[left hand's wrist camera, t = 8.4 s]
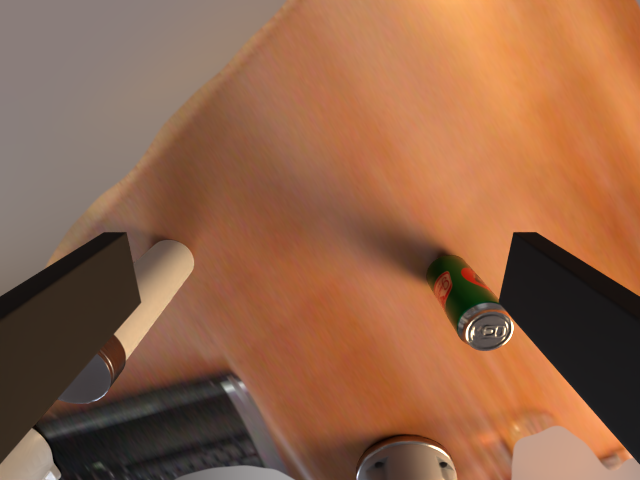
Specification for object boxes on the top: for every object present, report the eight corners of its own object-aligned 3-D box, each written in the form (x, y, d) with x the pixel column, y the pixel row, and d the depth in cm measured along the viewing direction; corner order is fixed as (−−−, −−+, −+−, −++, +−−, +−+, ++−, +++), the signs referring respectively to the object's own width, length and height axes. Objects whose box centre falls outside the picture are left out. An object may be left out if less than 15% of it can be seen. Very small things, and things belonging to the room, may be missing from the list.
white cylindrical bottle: (141, 263, 43) (23, 373, 26) (163, 230, 42) (52, 324, 24) (180, 287, 44) (91, 407, 27) (202, 256, 43) (123, 363, 26)
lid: (36, 357, 28) (13, 378, 26) (67, 306, 26) (45, 324, 24) (106, 392, 29) (89, 415, 27) (139, 346, 27) (124, 367, 25)
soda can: (426, 253, 43) (464, 309, 31) (468, 252, 42) (521, 306, 31) (423, 290, 44) (458, 355, 33) (464, 289, 44) (513, 353, 33)
